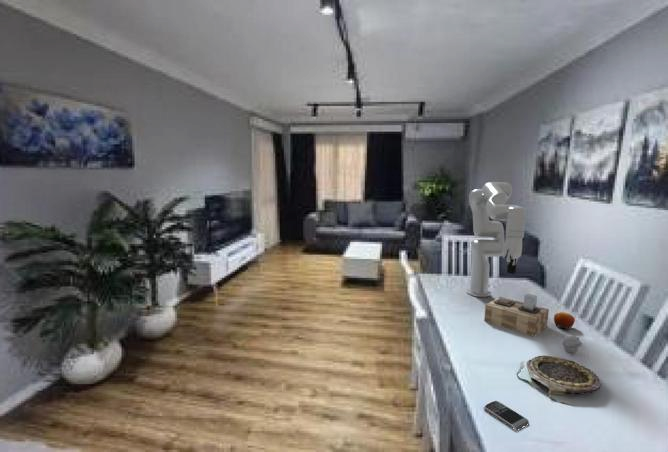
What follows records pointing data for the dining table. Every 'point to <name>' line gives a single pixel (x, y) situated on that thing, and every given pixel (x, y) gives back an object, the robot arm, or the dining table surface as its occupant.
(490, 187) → the robot arm
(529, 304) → the grey metal peg
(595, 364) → the dining table surface
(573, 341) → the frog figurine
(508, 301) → the walnut peg
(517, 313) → the oak block
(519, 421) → the cell phone
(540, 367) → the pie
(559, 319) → the fruit
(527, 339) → the dining table surface
